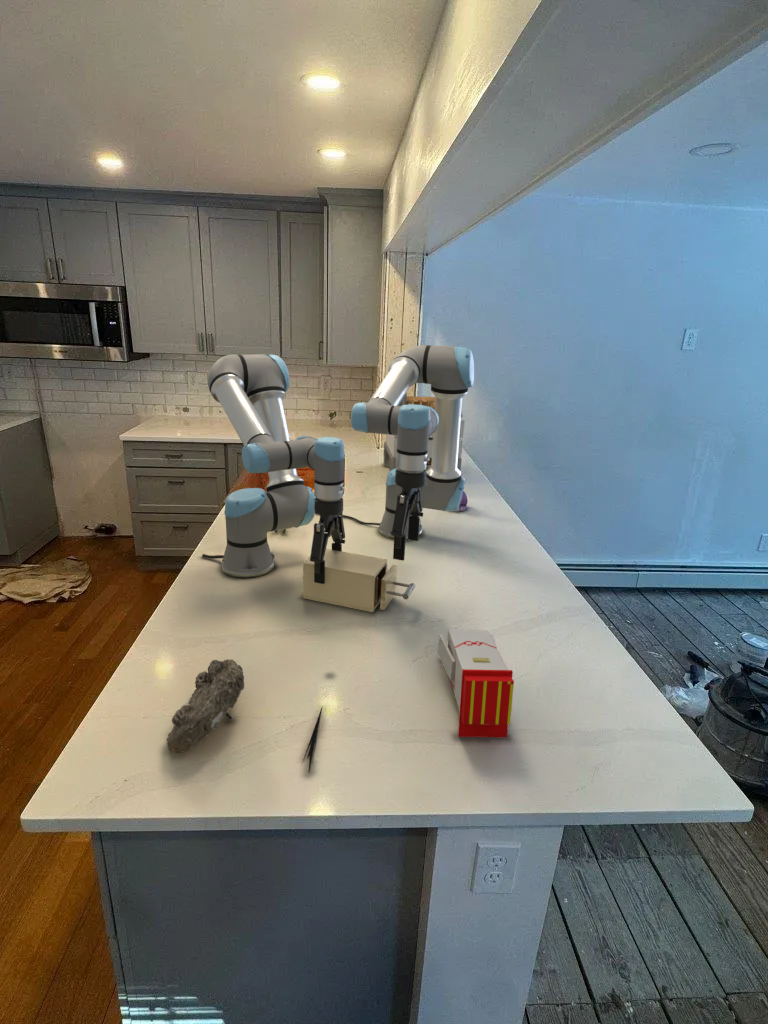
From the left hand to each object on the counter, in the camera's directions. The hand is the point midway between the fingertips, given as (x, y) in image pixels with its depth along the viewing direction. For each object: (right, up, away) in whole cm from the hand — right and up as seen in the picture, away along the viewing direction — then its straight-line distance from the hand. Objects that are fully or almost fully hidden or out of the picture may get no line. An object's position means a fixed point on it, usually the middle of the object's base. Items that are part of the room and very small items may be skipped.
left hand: (328, 573), depth 155 cm
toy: (+33, -21, -36) cm, 53 cm away
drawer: (+11, -6, -1) cm, 12 cm away
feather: (+3, -23, -46) cm, 52 cm away
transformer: (+32, +36, +120) cm, 129 cm away
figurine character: (-21, +11, +46) cm, 51 cm away
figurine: (+44, +18, +73) cm, 88 cm away
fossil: (-18, -22, -47) cm, 55 cm away
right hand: (+21, +7, -9) cm, 24 cm away
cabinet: (+5, -6, +1) cm, 8 cm away
